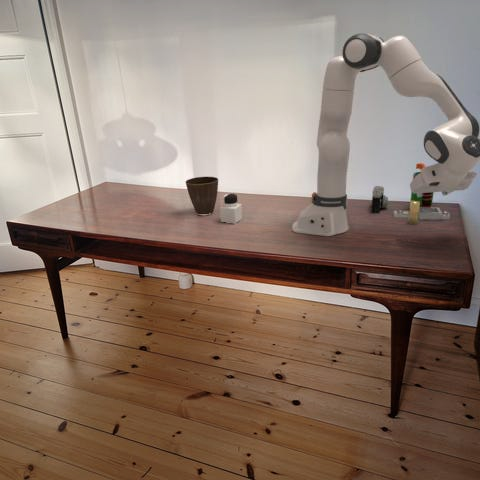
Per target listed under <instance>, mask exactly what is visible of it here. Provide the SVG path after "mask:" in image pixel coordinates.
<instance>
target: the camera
mask: <svg viewBox="0 0 480 480" xmlns="http://www.w3.org/2000/svg"><path fill="white" fill-rule="evenodd" d="M384 191H385V188H384V186H382V185H381V186H380V185H376V186H374V187H373V190H372V196H371V197H372V198H371V211H370V212H371V214H380V210H381V209H383V208H384V209H385V208H387V207H388V201H389V197H388V196H386V194H385V195H384V193H385V192H384Z"/></svg>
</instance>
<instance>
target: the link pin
mask: <svg viewBox="0 0 480 480" xmlns="http://www.w3.org/2000/svg"><path fill="white" fill-rule="evenodd" d="M419 205H420V201H417V200H412V201H411V200H410V201H409V210H410V211H409V210H408V211H409V218H408V220H407V221H408V224H410V225H418V223H419V218H418V215H419Z"/></svg>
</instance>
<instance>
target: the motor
mask: <svg viewBox="0 0 480 480" xmlns="http://www.w3.org/2000/svg"><path fill="white" fill-rule="evenodd" d="M424 167H426V165H425V164H424V163H422V162H421V163H420V162H419V163H416V165H415V169H418V170H421V169H422V168H424ZM419 173H421V171H417V172H414V173H413V175H412V180H413V179H414V178H415V177H416V176H417V175H418V174H419ZM434 194H435V192H430V193H423V196H422V197H417V193H416V194H413V193H412V191H411V194H410V201H412V200H417V201H420V205H419V207H433V199H434Z"/></svg>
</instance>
